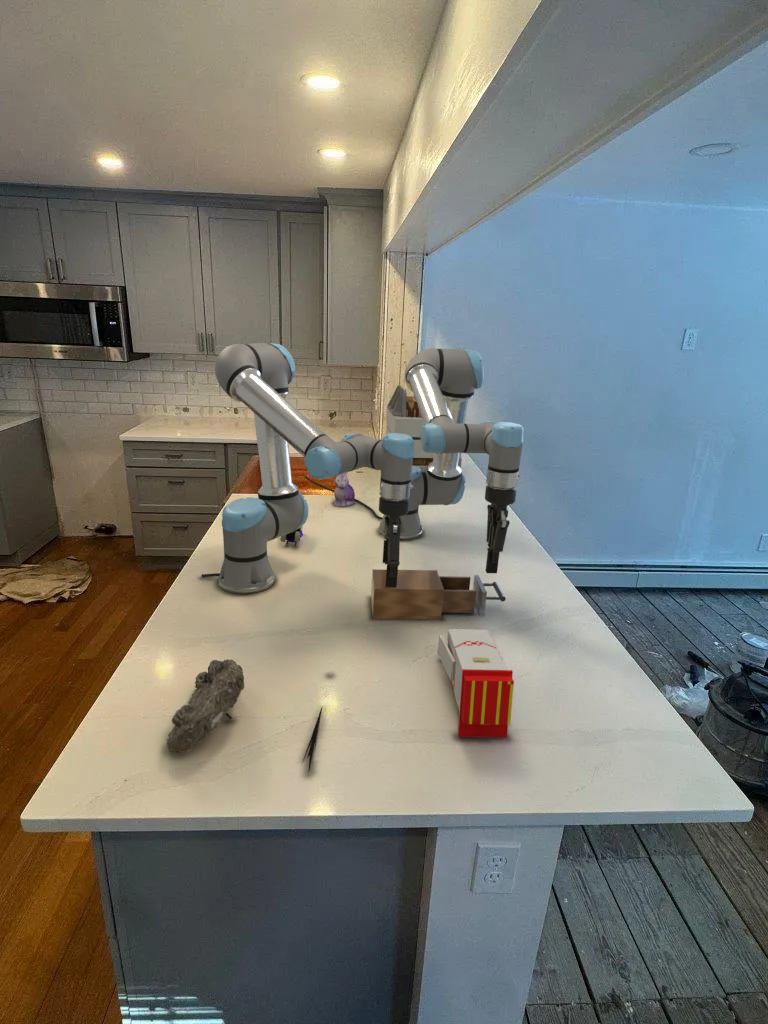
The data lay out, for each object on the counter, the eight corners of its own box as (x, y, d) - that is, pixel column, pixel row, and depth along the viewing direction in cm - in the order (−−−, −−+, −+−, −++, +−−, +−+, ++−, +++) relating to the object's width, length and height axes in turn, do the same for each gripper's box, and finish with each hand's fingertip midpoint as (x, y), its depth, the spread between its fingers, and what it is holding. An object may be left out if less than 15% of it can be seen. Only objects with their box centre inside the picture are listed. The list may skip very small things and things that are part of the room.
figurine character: (300, 552, 184) (305, 530, 197) (300, 532, 181) (305, 511, 194) (280, 552, 184) (286, 530, 197) (279, 531, 180) (285, 510, 194)
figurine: (338, 508, 222) (338, 471, 216) (328, 500, 230) (328, 464, 225) (360, 505, 226) (361, 469, 221) (349, 498, 234) (350, 462, 229)
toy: (488, 613, 130) (523, 677, 101) (484, 667, 133) (517, 744, 104) (435, 612, 130) (455, 676, 101) (432, 666, 133) (451, 743, 103)
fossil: (192, 660, 117) (244, 628, 112) (224, 691, 120) (276, 661, 115) (142, 746, 98) (202, 712, 93) (182, 779, 101) (242, 748, 96)
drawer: (495, 597, 157) (497, 575, 154) (504, 615, 147) (507, 592, 145) (416, 596, 155) (418, 574, 153) (421, 614, 146) (422, 591, 144)
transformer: (382, 463, 289) (386, 382, 275) (445, 464, 293) (451, 384, 279) (390, 482, 257) (394, 392, 243) (460, 483, 261) (468, 394, 247)
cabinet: (434, 598, 156) (437, 570, 154) (441, 619, 146) (443, 589, 143) (371, 597, 155) (372, 569, 152) (372, 618, 145) (374, 588, 142)
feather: (331, 679, 122) (336, 673, 122) (307, 777, 96) (313, 769, 95) (324, 675, 122) (329, 669, 121) (298, 772, 95) (304, 764, 95)
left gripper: (415, 515, 128) (408, 598, 136) (405, 482, 152) (399, 554, 159) (382, 514, 128) (376, 597, 135) (377, 481, 151) (372, 553, 159)
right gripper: (523, 494, 135) (511, 583, 143) (509, 478, 147) (499, 561, 155) (492, 493, 134) (482, 583, 142) (480, 478, 146) (472, 561, 154)
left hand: (389, 574), depth 147 cm, fingers open, 13 cm apart
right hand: (491, 572), depth 148 cm, fingers closed
